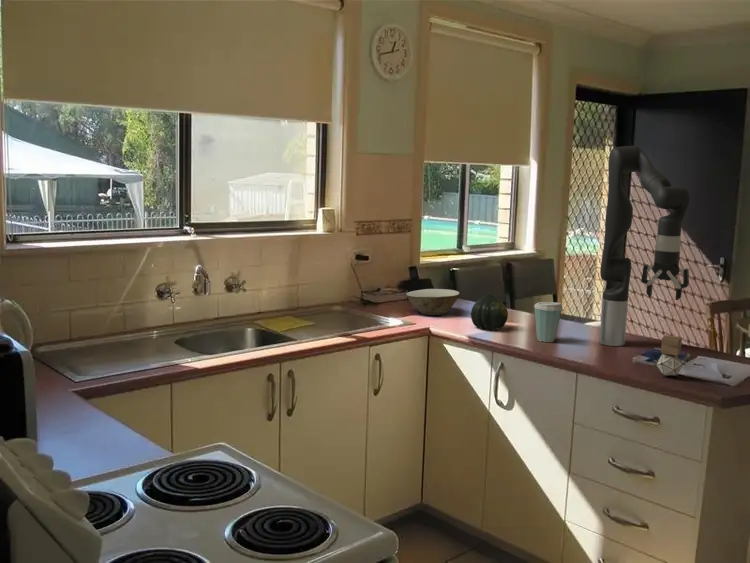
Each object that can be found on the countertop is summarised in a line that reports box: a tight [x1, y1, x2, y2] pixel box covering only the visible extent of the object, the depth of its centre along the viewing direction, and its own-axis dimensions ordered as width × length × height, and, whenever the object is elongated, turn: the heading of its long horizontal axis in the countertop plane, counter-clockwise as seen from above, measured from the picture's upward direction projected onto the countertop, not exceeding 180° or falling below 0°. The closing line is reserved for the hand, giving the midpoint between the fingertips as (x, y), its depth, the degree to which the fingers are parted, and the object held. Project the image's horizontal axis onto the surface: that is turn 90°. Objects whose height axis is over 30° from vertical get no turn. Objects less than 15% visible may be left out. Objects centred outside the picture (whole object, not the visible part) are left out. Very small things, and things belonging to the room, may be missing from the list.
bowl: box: [405, 288, 460, 316], centre depth 331 cm, size 24×24×10 cm
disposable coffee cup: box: [533, 301, 564, 343], centre depth 285 cm, size 11×11×15 cm
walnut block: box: [660, 334, 683, 356], centre depth 239 cm, size 5×5×5 cm
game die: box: [653, 352, 686, 378], centre depth 240 cm, size 9×8×10 cm
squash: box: [470, 292, 509, 331], centre depth 304 cm, size 14×15×15 cm
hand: (663, 298), depth 242 cm, fingers open, 8 cm apart
